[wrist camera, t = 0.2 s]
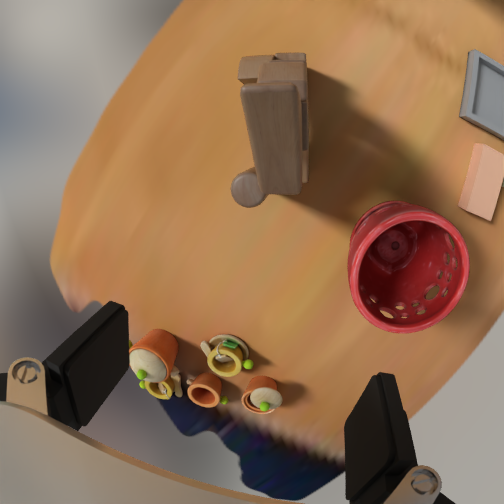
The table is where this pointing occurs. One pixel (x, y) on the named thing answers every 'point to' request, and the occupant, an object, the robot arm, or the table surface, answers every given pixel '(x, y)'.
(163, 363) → the toy tea set
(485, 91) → the grey tray
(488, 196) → the terracotta brick
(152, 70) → the table surface
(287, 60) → the wooden toy
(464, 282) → the plant pot
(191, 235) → the table surface
